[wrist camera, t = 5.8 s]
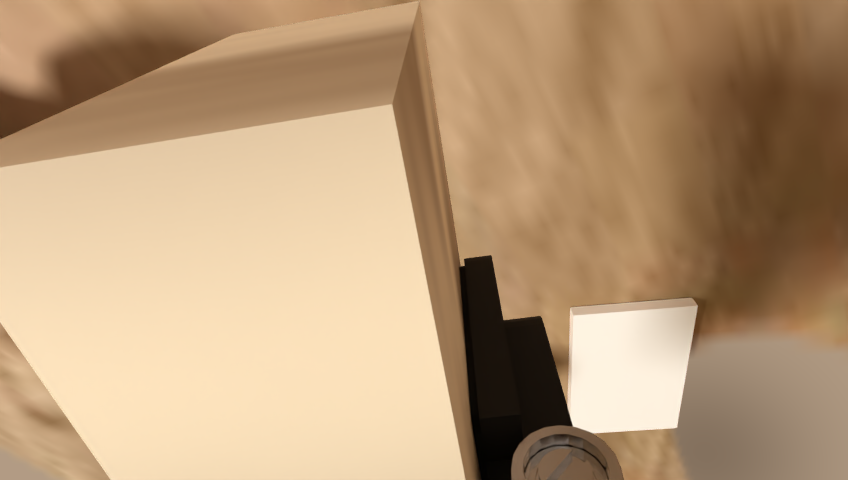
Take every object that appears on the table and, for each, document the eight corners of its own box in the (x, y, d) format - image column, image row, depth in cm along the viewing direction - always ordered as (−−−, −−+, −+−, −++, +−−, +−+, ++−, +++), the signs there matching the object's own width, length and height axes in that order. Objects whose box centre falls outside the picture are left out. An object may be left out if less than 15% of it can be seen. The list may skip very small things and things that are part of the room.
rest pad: (570, 307, 31) (573, 315, 30) (691, 297, 31) (697, 305, 30) (567, 425, 36) (569, 434, 35) (672, 418, 36) (676, 427, 35)
